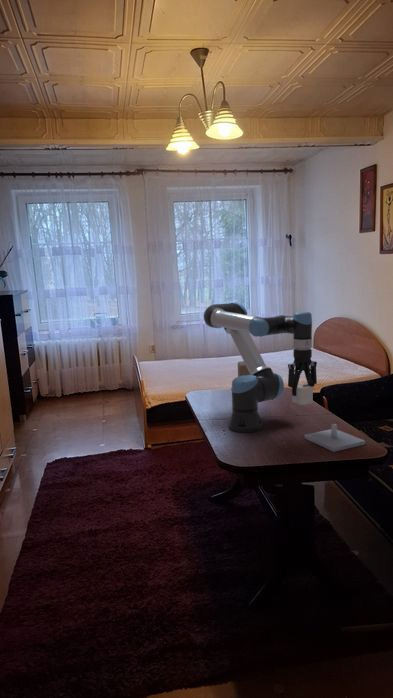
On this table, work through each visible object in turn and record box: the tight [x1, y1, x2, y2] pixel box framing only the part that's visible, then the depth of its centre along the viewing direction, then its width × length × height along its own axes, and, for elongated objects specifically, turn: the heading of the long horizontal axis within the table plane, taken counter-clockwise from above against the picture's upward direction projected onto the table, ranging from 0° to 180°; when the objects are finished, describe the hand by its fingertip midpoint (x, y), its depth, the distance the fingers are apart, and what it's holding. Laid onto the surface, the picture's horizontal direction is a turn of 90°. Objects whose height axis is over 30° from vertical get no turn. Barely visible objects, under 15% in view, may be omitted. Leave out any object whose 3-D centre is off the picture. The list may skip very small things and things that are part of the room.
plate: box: [304, 423, 366, 453], centre depth 188 cm, size 16×18×7 cm
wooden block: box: [237, 361, 250, 377], centre depth 264 cm, size 10×10×20 cm
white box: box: [297, 383, 314, 406], centre depth 197 cm, size 6×6×8 cm
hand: (302, 401), depth 197 cm, fingers closed on white box, 6 cm apart
